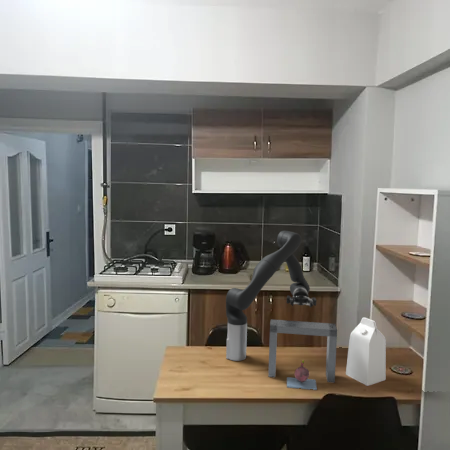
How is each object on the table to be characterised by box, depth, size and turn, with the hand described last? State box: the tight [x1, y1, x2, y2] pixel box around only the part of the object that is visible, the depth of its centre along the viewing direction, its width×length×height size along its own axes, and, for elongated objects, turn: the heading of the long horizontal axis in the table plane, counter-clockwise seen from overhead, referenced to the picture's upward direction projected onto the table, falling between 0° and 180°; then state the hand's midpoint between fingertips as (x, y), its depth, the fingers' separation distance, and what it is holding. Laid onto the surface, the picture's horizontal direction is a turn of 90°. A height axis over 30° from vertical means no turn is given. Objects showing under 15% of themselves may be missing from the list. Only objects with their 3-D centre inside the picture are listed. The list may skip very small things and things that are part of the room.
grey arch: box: [267, 319, 338, 384], centre depth 184 cm, size 28×8×23 cm, turn 82°
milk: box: [345, 317, 387, 387], centre depth 183 cm, size 12×12×26 cm
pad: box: [286, 376, 318, 391], centre depth 177 cm, size 12×8×1 cm, turn 82°
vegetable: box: [294, 359, 310, 382], centre depth 176 cm, size 6×6×10 cm
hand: (301, 304), depth 200 cm, fingers open, 8 cm apart
